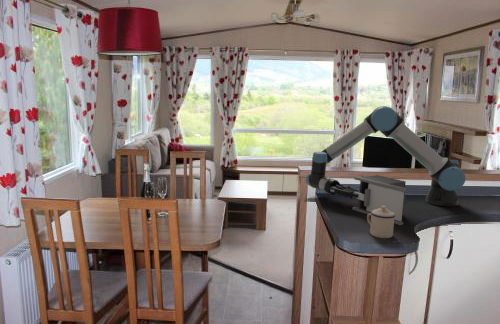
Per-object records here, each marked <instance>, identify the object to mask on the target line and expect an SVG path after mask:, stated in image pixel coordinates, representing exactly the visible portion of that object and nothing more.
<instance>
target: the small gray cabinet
mask: <svg viewBox="0 0 500 324" xmlns="http://www.w3.org/2000/svg"><path fill="white" fill-rule="evenodd" d="M366 176H367V177H362V176H354V180H356V181H359V182H360V183H359V191H358V192H359V193H362V194H364V195H365V189H368V185H369V183H371V184H375V185H379V186H383V187H387V188H391V189H395V190H399V191H403V192H404V199H403V207H404V206H405V204H406V200H407V197H406V194H405V192H407V188H406V181H405V180H402V179H401V180H400V179H396V178H393V177H388V176H383V175H379V174H376V175H375V174H374V175H366ZM351 208H352V210H353V211H356V212H358V213H362V214H365V215H368V214H369V213H371V212H369V211H367V207H366V206H364V201H362V200H359V199H358V207H357V206H352V207H351ZM403 212H404V209H403V210H402V216H404V214H403ZM394 225H398V226H402V225H404V221H398V220H394Z"/></svg>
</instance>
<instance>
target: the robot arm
mask: <svg viewBox="0 0 500 324" xmlns="http://www.w3.org/2000/svg"><path fill="white" fill-rule="evenodd" d="M363 119H364V120H363V121H362V122H361V123H359V124H358V125H357V126H356V127H354V128H352V129H351V130H349V131H348V132H347V133H346V134H344V135H343V136H341V137H340V138H337V140H336V141H334V142H333V143H332V144H330V145H329V146H327V147H326V148H324V149H323V150H322V151H314V152H313V153H312V158H311V159H312V160H311V171H310V172H309V173H308V174H307V176H306V179H305V181H306V184H307V185H308V186H309V187H312V188H313V189H316V190H320V191H322V192H323V193H326V194H330V195H332V196H333V195H338V196H339V195H340V196H343V197H346V198H349V199H351V200H352V199H353V198H355V199H357V200H358V201H359V200H362V201H364V200H365V195H364V194H362V193H359V192H360V191H359V190H357V189H355V188H353V187H351V186H350V185H347V186H345V185H344V184H341V183H340V182H339V181H338V180H336V179H334V178H330V177H327V176H326V171H327V170H326V169H327V165H328V164H329V163H330V162H332V161H333V160H335V159H336V158H338V157H339V156H341V155H343V154H344V153H345V152H347V151H348V150H350V149H351V148H352V147H354V146H356V145H358V143H360V142H361V141H363V140H364V139H366V138H367V137H369V136H370V135H371V134H376V133H377V132H380V133H381V134H382V135H384V136H385V137H386V138H391V139H393V140H394V141H395V142H396V143H397V144H398V145H400V146H401V147H402V148H403V149H404V150H405V151H406V152H407V153H409V154H410V155H411V157H413V158H414V159H415V160H416V161H418V162H419V163H420V164H421V165H422V166H424V167H425V168H426V170H428V175H429V176H430V177H431V180H430V181H431V183H430V188H429V190H428V192H427V194H426V197H425V202H426V203H428V204H431V205H435V206H439V207H457V206H458V205H459V199H458V195H457V190H459V189H461V188H462V187H463V186H464V184H465V183H466V174H465V171H464V170H463V169H462V168H460V167H459V165H460V164H459V161H458V160H457V159H449V158H448V157H442V156H441V155H440V154H438V153H437V151H435V150H434V149H433V148H432V147H430V145H429V144H427V143H426V142H425V141H424V140H423V139H422V138H421V137H419V136H418V135H417V134H416V133H415V132H414V131H413V130H412V129H410V128H409V127H408V126H407V125H406V124H405V119H404V118H402V117H401V116H400V115H399V114H398V113H397V112H396V111H395V110H394V109H393V108H392V107H390V106H386V105H380V106H378V107H375V108H374V110H372V112H371V113H370V114H368V115H367V116H366V117H365V118H363Z"/></svg>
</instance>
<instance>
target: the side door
mask: <svg viewBox="0 0 500 324" xmlns="http://www.w3.org/2000/svg"><path fill="white" fill-rule="evenodd" d="M403 199H404V192H403V191H399V190H395V189H391V188H387V187H383V186H379V185H375V184H371V183H369V185H368V189H365V200H364V206H366V207H367V211H369V212H372V210H375V209H378V208H381V206H386V209H388V210H390V211H392V212H394V213H395V217H394V220H398V221H402V219H403V215H402V210H403V211H404V206H403ZM402 222H403V221H402Z"/></svg>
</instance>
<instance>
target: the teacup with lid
mask: <svg viewBox="0 0 500 324" xmlns="http://www.w3.org/2000/svg"><path fill="white" fill-rule="evenodd" d="M394 217H395V213H394V212H392V211H390V210H388V209H386V206H381V208H378V209H375V210H372V212H371V213H369V214H366V220H367V223H368V225H370V228H369V234H370V235H371V236H373V237H376V238H380V239H390V238H393V236H394V226H395V223H394Z"/></svg>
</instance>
